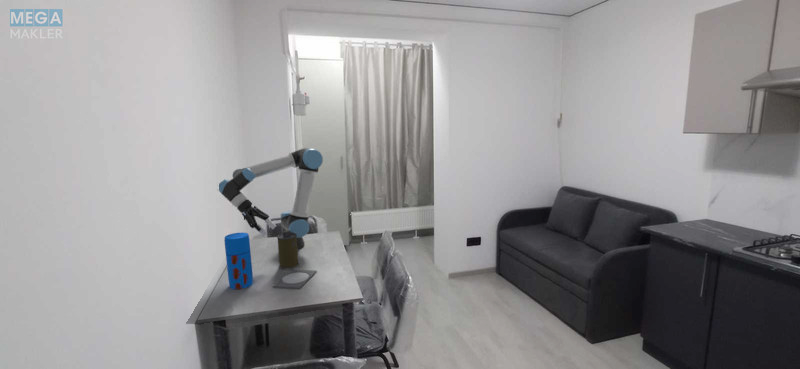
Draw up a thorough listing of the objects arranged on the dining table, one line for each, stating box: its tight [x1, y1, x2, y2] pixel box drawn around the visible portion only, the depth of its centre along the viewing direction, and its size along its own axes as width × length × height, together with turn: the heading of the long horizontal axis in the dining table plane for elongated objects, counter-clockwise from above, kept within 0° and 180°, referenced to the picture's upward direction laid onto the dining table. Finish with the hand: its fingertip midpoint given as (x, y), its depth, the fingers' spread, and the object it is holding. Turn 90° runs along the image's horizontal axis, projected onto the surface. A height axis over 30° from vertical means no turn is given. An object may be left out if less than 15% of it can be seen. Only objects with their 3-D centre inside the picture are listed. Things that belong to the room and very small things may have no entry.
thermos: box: [224, 232, 254, 290], centre depth 171 cm, size 11×11×25 cm
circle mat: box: [272, 268, 317, 290], centre depth 178 cm, size 20×14×1 cm
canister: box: [276, 230, 300, 270], centre depth 195 cm, size 11×10×20 cm
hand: (270, 230), depth 194 cm, fingers open, 13 cm apart
